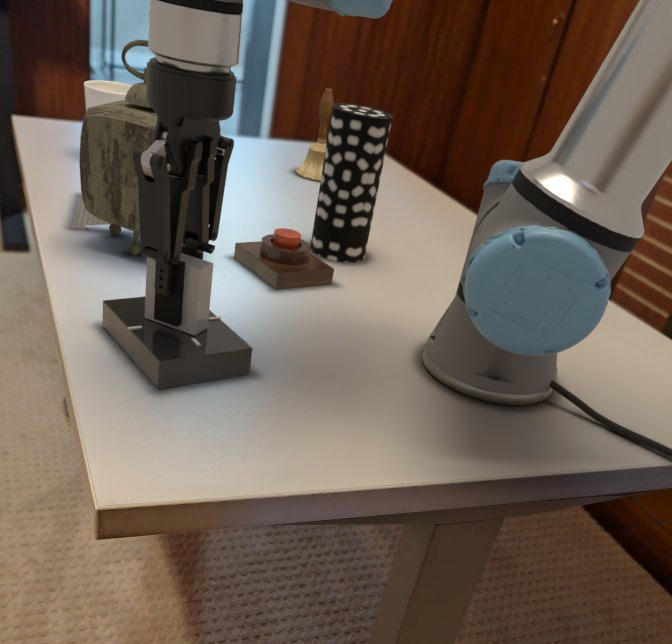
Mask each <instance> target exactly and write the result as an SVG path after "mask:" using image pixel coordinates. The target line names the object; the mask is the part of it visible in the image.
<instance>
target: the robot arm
mask: <svg viewBox="0 0 672 644" xmlns="http://www.w3.org/2000/svg"><path fill="white" fill-rule="evenodd" d="M285 1H286V2H290V3H295V4H299V5H303V6H308V7H313V8H317V9H321V10H325V11H331V12H335V13H336V14H338V15H340V16H342V17H346V16H349V17H362V18H369V19H380V18H382V17H384V16H385V15H386V14H387V13H388V12H389V10H390V9H391V6H392V5H391V4H392V3H393V1H394V0H285ZM243 13H244V0H149V11H148V17H149V18H148V19H149V20H148V22H149V23H148V40H147V41H148V47H147V48H148V50H149V51H150V52H151V53H152V54H154V57H151V58H150V59H149V61H147V62H146V67H147V78H146V101H147V103H148V105H149V106H150V107H151V108H153V109H154V110H155V111H156V113H157V123H156V127H155V130H154V133H153V142H154V143H153V144H152V145H151V146H150V147H149V148H148V149H147V150H146V151H145V150H141V149H136V150H135V151H134V154H133V161H134V165H135V168H136V172H137V176H138V194H139V223H140V234H139V244H140V245H139V246H140V255H141V256H142V257H145V258H147V257H148V258H151V259H154V260H155V262H156V268H155V304H154V319H156V320H159V321H161V322H164V323H167V324H170V325H173V326H175V327H178V326H180V325H181V320H182V305H183V290H184V276H185V262H183V261H180V258H181V253H184V254H187V255H190V256H193V257H196V258H199V259H202V260H204V253H206V254H210V255H212V254H213V253H214V252H215V249H216V245H214V244H212V243H209V242H210V241H211V242H215V241H216V240H217V239H218V236H219V230H220V225H221V224H220V223H221V216H222V210H223V204H224V203H223V202H224V197H225V196H224V195H225V190H226V189H225V188H226V182H227V176H228V168H229V163H230V160H231V156H232V153H233V150H234V147H235V141H234V140H235V139H233V138H231V137H227V136H224V135H223V134H221V125H220V122H221V121H226V120H229V119H231V117H232V116H233V114H234V109H235V98H236V87H237V76H236V75H235V73H234V72H233V71H232V70H231V69H232V68H234V67H236V66H237V65H238V64H239V60H240V48H241V47H240V45H241V34H242V33H241V32H242V22H243V21H242V19H243ZM671 162H672V0H639V1H638V3H637V5H636V6H635V7H634V9H633V11H632V12H631V14H630V16H629V18H628V20H627V21H626V23H625V24H624V27H623V29H622V30H621V31H620V33H619V35H618V37H617V38H616V40H615V41H614V43H613V45H612V46H611V48H610V50H609V51H608V53H607V55H606V57H605V58H604V60H603V62H602V63H601V65H600V67H599V69H598V71H597V72H596V74H595V75H594V77H593V79H592V81H591V82H590V83H589V85H588V87H587V89H586V91H585V92H584V94H583V95H582V97H581V98H580V101H579V102H578V104H577V106H576V108H574V111H573V113H572V114H571V116H570V118H569V119H568V121H567V123H566V125H565V126H564V128H563V130H562V132H561V133H560V134H559V137H558V138H557V140H556V142H555V143H554V145H553V146H552V148H551V150H550V151H549V152H548V153H546V154H544V155H542V156H539V157H536V158H533V159H530V160H527V161H517V160H512V159H500V160H498V161H496V162H495V163H494V164H492V166H491V168H490V171H489V173H488V176H487V180H486V181H485V182H484V184H483V186H482V187H483V188H482V190H483V194H482V198H481V200H480V201H481V202H480V206H479V209H478V212H477V215H476V219H475V222H474V226H473V231H472V235H471V238H470V241H469V245H468V249H467V252H466V255H465V258H464V264H463V266H462V271H461V274H460V276H459V277H460V278H459V282H458V285H457V289H456V292H455V296H454V297H453V299H452V301H451V302H450V303H449V305H448V307H447V309H446V310H445V311H444V313H443V315H441V317H440V319H439V321H438V322H437V323H436V326H435V327H434V329H433V330H432V331H431V332H430V334H429V336H428V337H427V340H426V343H425V345H424V349H423V353H422V363H423V364H424V365H423V366H424V367H425V369H426V370H427V371H428V372H429V373H430V374H431V375H432V376H433V377H434V378H435V379H437V381H439V382H441V384H444V385H445V386H447V387H449V388H451V389H453V390H455V391H456V392H459V393H461V394H463V395H466V396H469V397H472V398H475V399H478V400H482V401H485V402H489V403H493V404H500V405H508V406H522V405H523V406H526V405H533V404H537V403H540V402H543V401H545V400H546V399H547V398H549V397H550V396H551V394H552V393H553V391H555V392H556V393H558V394H559V395H561V396H562V397H563V398H565V399H566V400H568V401H569V402H570V403H572V404H573V405H574V406H576V407H577V408H578V409H580V410H581V411H582V412H583V413H584V414H586V415H587V416H589V417H590V418H591V419H593V420H595V421H596V422H597V423H599V424H601V425H603V426H604V427H606V428H608V429H610V430H612V431H614V432H616V433H618V434H619V435H622V436H624V437H626V438H629V439H631V440H632V441H635V442H638V443H640V444H642V445H644V446H646V447H649V448H650V449H652V450H655V451H657V452H659V453H662V454H664V455H666V456H668V457H669V458H671V459H672V448H671V447H669V446H666V445H664V444H662V443H660V442H658V441H656V440H654V439H653V438H652V439H651V438H649V437H647V436H645V435H642V434H640V433H638V432H635V431H634V430H631V429H629V428H627V427H625V426H623V425H620V424H618V423H616V422H614V421H613V420H611V419H609V418H608V417H606V416H604V415H603V414H601V413H599V412H598V411H596V410H595V409H594V408H592V407H591V406H589V405H588V404H587V403H586V402H584V401H583V400H582V399H580V398H579V397H577V396H576V395H575V394H574V393H572V392H571V391H569V390H568V389H566V388H565V387H563V386H562V385H561V384H560V383H558V382H557V381H556V380H557V376H558V365H557V364H558V354H559V353H562V352H564V351H566V350H569V349H571V348H573V347H574V346H577V345H578V344H579V343H581V342H582V341H584V340H585V339H586V338H587V337H588V336H590V334H591V333H593V332H594V330H595V329H596V328H597V327H598V325H599V324H600V322H601V320H602V318H603V317H604V315H605V312H606V310H607V307H608V304H609V299H610V298H611V294H612V293H611V292H612V288H611V287H612V286H611V284H612V283H611V281H612V280H613V278H614V277H615V276H616V274H617V273H618V272H619V270H620V269H621V267H622V265H623V264H624V263H625V261H626V260H627V258H628V257H629V256H630V254H631V253H632V251H633V250H634V249H635V247H636V246H637V244H638V243H639V241H640V240H641V238H642V237H643V236H644V234H645V227H644V222H643V215H642V214H643V213H642V205H643V203H644V201H645V200H646V198H647V197H648V195H649V194H650V193H651V191H652V190H653V188H654V187H655V186H656V184H657V182H658V181H659V179H660V178H661V176H662V175H663V174H664V172H665V171H666V169H667V168H668V166H669V165H670V164H671ZM171 175H172V176H171ZM174 176H176V177H174ZM177 177H178V178H177ZM182 245H185V248H183V247H182Z"/></svg>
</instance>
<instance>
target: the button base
mask: <svg viewBox="0 0 672 644" xmlns="http://www.w3.org/2000/svg"><path fill="white" fill-rule="evenodd" d="M273 236H274V233H272V234H271V233H270V234H267V235H264V236H262V237H261V240H260V241H245V242H235V245H234V254H233V259H235V260H237V262H239V263H240V264H241V265H242V266H244V267H245V268H247V270H249V271H250V272H252V273H253V274H254V275H255V276H257V277H258V278H260V280H262V281H263V282H265V283H266V284H268V285H269V286H270V287H272V288H273V289H274V290H275V291H276V290H285V289H294V288H305V287H315V286H325V285H326V286H327V285H332V284H333V280H334V279H333V278H334V273H335V268H334V267H332V266H331V265H329V264H328V263H326V262H324V261H323V260H322V259H320V258H319V257H317V256H316V255H314V253H311V248H310V246H311V243H309V242H308V241H306V240H304V239H302V238H301V239H300V246H299V248H295V249H289V248H282V247H279V246H276V245H274V244H273Z"/></svg>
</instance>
